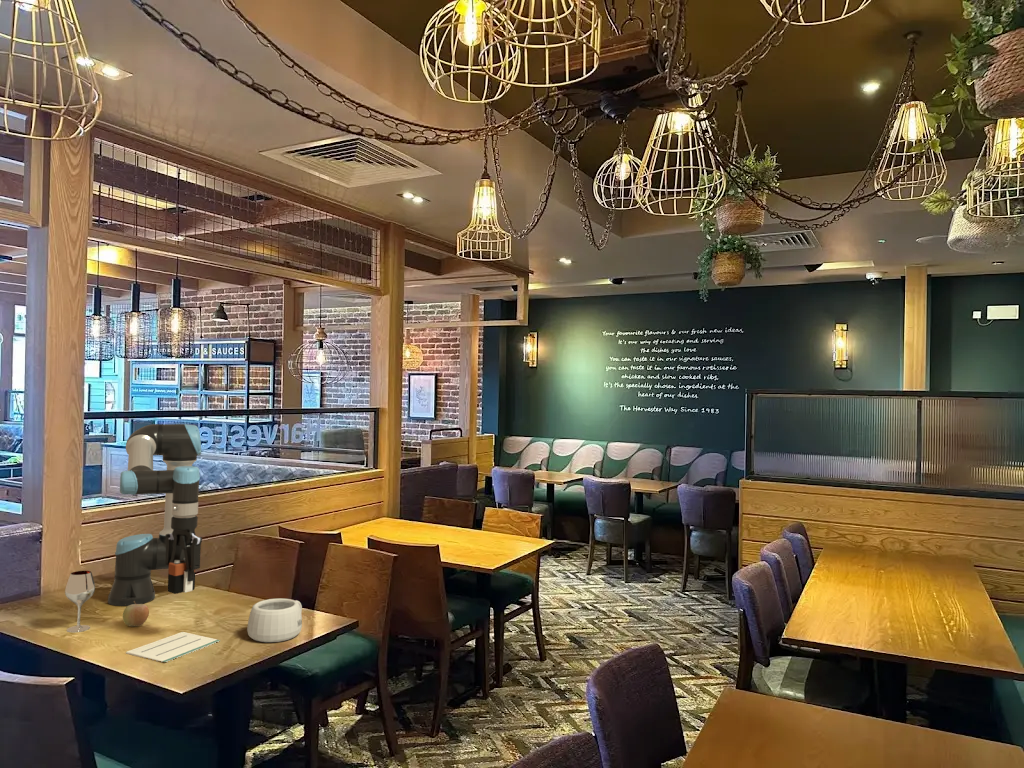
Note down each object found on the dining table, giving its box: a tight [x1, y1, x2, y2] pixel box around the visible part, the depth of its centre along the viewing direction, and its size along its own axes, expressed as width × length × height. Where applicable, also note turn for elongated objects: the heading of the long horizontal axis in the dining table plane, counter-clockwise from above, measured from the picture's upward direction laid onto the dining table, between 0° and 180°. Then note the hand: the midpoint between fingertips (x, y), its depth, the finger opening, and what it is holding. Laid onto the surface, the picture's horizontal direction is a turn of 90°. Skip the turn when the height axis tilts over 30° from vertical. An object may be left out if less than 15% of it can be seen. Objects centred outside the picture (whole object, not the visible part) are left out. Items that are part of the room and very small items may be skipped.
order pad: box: [125, 631, 221, 663], centre depth 207 cm, size 20×16×1 cm
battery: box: [167, 558, 196, 595], centre depth 216 cm, size 4×7×10 cm, turn 145°
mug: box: [246, 598, 303, 643], centre depth 223 cm, size 21×17×10 cm
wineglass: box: [64, 570, 96, 633], centre depth 220 cm, size 8×8×18 cm
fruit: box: [122, 601, 150, 627], centre depth 225 cm, size 8×7×8 cm
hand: (181, 589), depth 216 cm, fingers closed on battery, 5 cm apart
